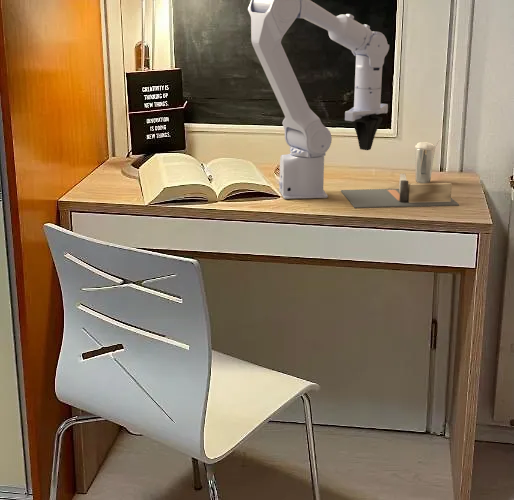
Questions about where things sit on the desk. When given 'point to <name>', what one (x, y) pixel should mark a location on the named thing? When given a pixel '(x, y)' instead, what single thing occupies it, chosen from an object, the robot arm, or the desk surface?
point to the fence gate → (402, 178)
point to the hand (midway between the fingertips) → (365, 149)
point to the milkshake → (424, 161)
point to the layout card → (386, 199)
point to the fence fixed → (425, 192)
